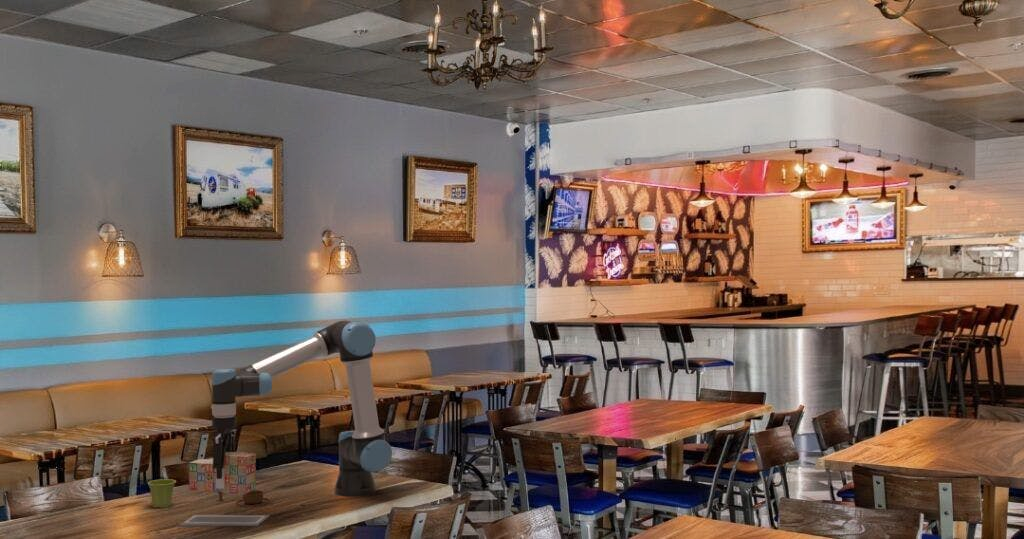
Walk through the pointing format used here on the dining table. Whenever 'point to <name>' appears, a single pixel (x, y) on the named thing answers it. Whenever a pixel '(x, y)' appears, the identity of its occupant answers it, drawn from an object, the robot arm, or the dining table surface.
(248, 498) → the place setting
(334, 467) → the dining table surface
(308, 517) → the dining table surface
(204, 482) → the stack of blocks
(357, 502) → the dining table surface
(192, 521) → the blueprint baseplate
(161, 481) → the plant pot
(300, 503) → the dining table surface
